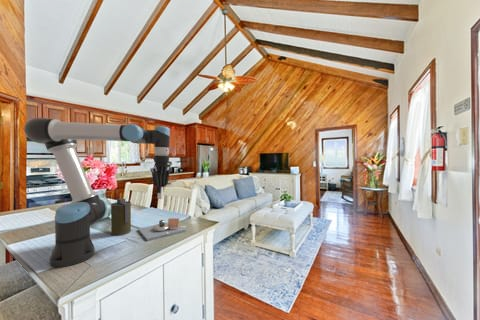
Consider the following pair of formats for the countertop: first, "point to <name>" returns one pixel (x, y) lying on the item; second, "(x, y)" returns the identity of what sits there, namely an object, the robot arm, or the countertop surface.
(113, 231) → the canister
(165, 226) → the dial
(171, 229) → the panel
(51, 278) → the countertop surface
